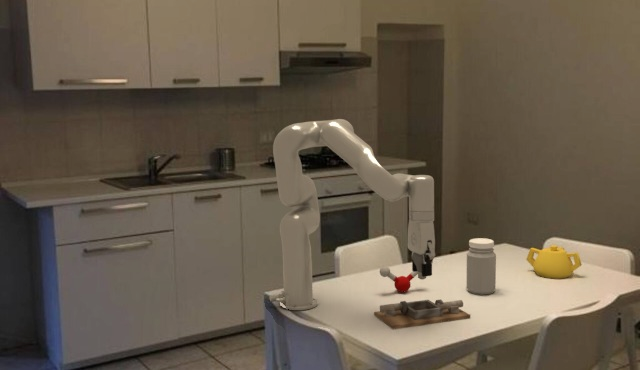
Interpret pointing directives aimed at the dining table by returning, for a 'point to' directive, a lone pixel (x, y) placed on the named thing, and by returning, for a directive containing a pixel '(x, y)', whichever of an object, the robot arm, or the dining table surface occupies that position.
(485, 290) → the jar
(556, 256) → the yellow sugar bowl
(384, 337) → the dining table surface
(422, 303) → the shaft bench
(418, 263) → the light bulb
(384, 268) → the molecular model
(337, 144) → the robot arm
